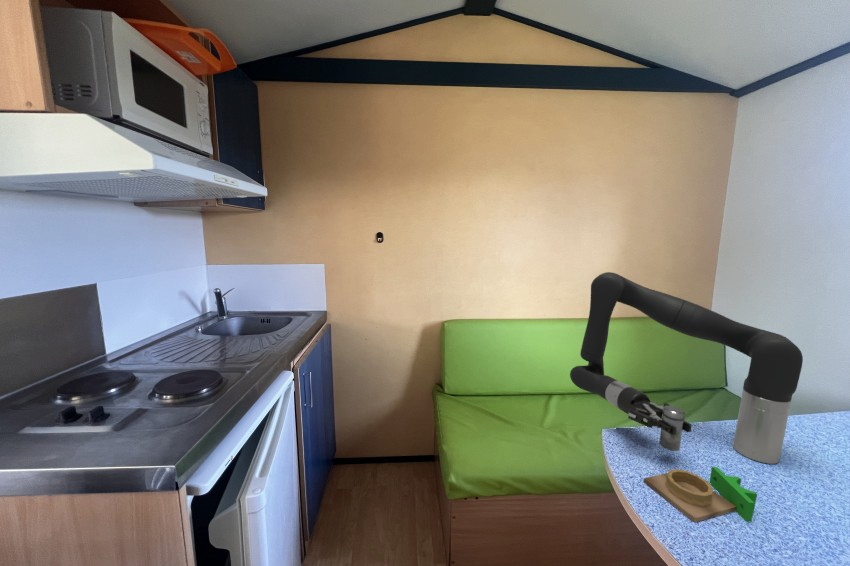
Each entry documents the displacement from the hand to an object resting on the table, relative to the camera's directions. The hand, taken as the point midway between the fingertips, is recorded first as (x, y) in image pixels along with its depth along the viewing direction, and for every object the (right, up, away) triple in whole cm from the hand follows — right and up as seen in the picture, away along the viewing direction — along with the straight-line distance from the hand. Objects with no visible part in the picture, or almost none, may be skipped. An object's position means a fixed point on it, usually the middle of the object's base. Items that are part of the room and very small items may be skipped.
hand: (682, 430), depth 87 cm
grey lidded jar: (-1, -6, +3) cm, 7 cm away
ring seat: (-5, -11, -8) cm, 15 cm away
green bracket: (+5, -12, -10) cm, 16 cm away
